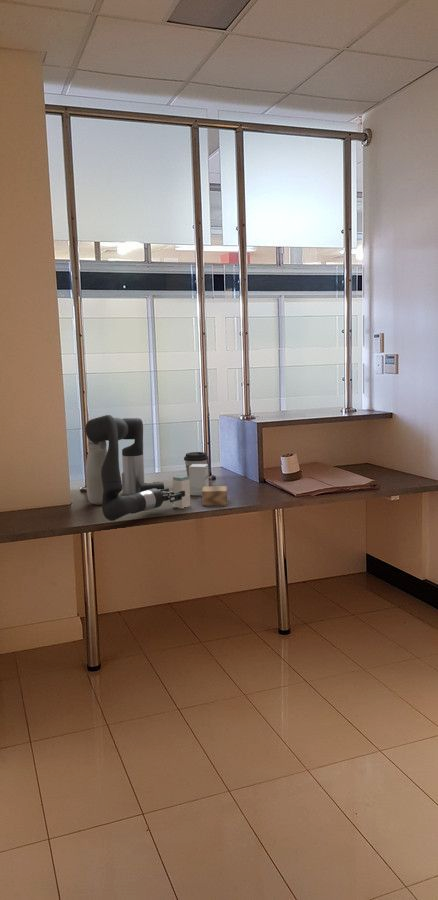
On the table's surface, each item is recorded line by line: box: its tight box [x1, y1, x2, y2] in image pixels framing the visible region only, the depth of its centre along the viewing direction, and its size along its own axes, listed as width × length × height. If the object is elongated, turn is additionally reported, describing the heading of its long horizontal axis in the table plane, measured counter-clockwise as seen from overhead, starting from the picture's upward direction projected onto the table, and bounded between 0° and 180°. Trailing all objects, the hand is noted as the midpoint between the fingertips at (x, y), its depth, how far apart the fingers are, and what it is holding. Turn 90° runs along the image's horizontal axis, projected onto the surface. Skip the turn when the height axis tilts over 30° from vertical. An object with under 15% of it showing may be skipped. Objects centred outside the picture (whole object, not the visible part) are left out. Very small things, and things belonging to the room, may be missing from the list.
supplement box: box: [189, 463, 210, 496], centre depth 307 cm, size 7×7×13 cm
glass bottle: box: [84, 439, 108, 506], centre depth 291 cm, size 10×10×28 cm
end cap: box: [139, 481, 165, 492], centre depth 301 cm, size 10×7×7 cm
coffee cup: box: [183, 451, 209, 476], centre depth 324 cm, size 11×11×15 cm
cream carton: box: [172, 474, 191, 509], centre depth 284 cm, size 5×5×12 cm
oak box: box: [201, 485, 228, 506], centre depth 290 cm, size 10×10×6 cm
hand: (176, 492), depth 282 cm, fingers open, 8 cm apart
